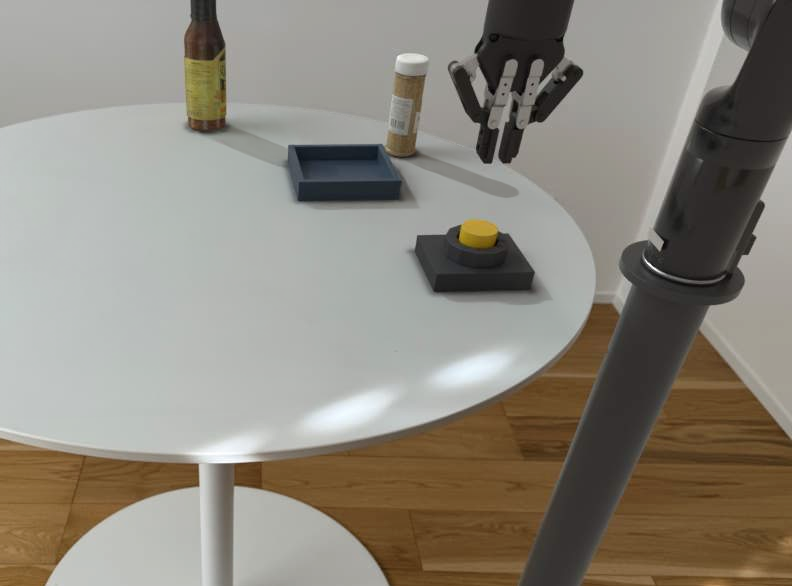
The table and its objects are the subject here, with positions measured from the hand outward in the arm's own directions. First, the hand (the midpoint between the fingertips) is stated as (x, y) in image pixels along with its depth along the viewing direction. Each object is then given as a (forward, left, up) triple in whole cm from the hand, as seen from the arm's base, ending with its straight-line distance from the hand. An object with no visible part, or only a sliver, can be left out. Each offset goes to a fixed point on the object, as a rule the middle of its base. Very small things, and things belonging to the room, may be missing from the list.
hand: (495, 160), depth 82 cm
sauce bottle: (+29, -46, -13) cm, 56 cm away
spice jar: (+1, -35, -13) cm, 37 cm away
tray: (+11, -25, -13) cm, 30 cm away
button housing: (0, 0, -13) cm, 13 cm away
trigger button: (0, 0, -9) cm, 9 cm away
